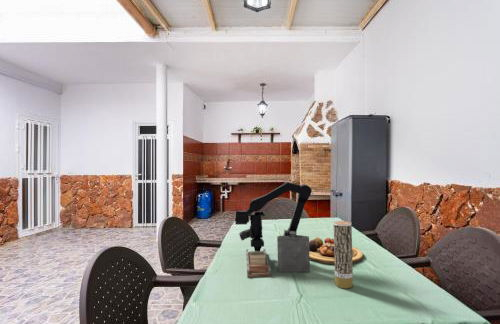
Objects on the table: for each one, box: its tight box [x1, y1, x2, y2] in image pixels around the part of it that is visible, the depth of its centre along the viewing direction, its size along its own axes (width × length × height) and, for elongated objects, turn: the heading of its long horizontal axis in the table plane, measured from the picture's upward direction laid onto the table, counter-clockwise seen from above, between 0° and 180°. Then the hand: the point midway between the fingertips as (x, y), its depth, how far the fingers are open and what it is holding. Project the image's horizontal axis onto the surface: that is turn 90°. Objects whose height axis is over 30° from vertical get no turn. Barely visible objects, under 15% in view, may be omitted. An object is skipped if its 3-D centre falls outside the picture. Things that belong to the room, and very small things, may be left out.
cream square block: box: [249, 250, 266, 265], centre depth 131 cm, size 7×7×5 cm
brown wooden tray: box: [245, 248, 272, 278], centre depth 134 cm, size 30×10×4 cm, turn 2°
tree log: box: [333, 220, 354, 289], centre depth 109 cm, size 7×7×25 cm
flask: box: [276, 231, 311, 274], centre depth 125 cm, size 4×14×18 cm, turn 85°
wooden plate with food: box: [309, 236, 364, 265], centre depth 146 cm, size 32×32×8 cm
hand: (257, 255), depth 136 cm, fingers closed
